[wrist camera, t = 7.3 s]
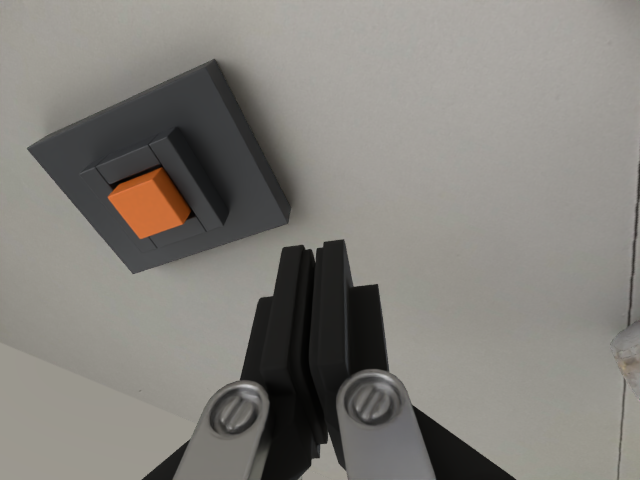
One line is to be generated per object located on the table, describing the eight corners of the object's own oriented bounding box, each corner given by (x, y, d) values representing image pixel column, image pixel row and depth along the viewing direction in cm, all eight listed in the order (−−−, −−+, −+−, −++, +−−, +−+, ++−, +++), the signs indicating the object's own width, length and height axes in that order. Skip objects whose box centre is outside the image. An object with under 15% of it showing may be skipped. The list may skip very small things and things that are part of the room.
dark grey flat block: (45, 136, 25) (7, 160, 22) (215, 58, 22) (196, 74, 19) (143, 258, 30) (123, 289, 27) (291, 208, 27) (285, 238, 24)
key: (118, 183, 23) (106, 197, 22) (162, 166, 23) (152, 179, 21) (150, 225, 25) (139, 240, 24) (192, 210, 24) (184, 224, 23)
